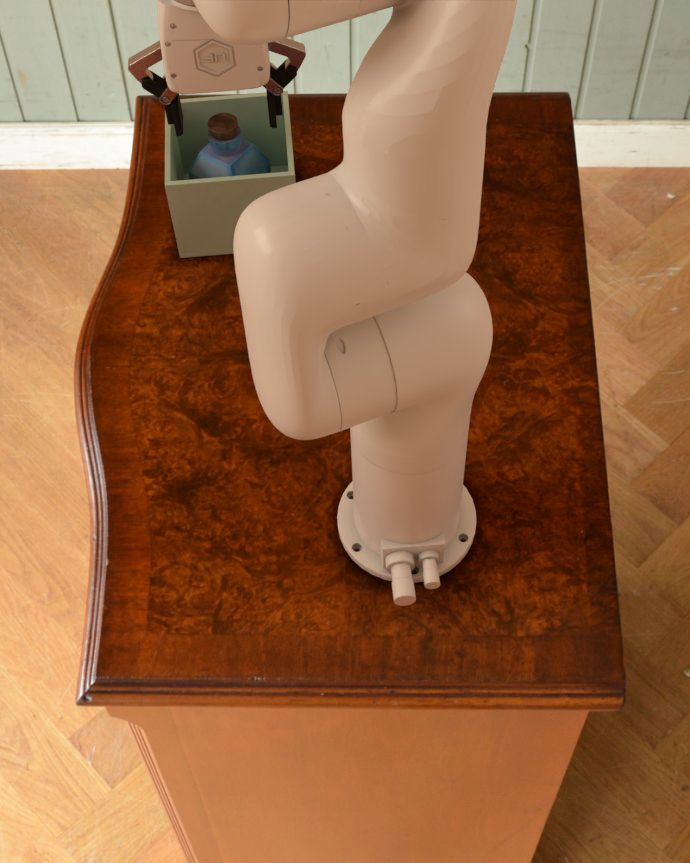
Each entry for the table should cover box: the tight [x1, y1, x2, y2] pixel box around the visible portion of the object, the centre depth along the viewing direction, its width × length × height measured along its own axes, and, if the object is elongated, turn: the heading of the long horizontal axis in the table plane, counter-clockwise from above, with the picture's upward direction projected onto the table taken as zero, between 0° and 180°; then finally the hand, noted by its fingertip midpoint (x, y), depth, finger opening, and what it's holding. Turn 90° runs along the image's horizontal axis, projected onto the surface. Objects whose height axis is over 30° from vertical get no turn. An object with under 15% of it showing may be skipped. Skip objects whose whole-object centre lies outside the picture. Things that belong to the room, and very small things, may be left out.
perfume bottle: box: [189, 113, 271, 180], centre depth 123 cm, size 6×6×12 cm
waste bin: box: [164, 90, 297, 259], centre depth 124 cm, size 13×13×11 cm
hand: (226, 123), depth 118 cm, fingers open, 9 cm apart
